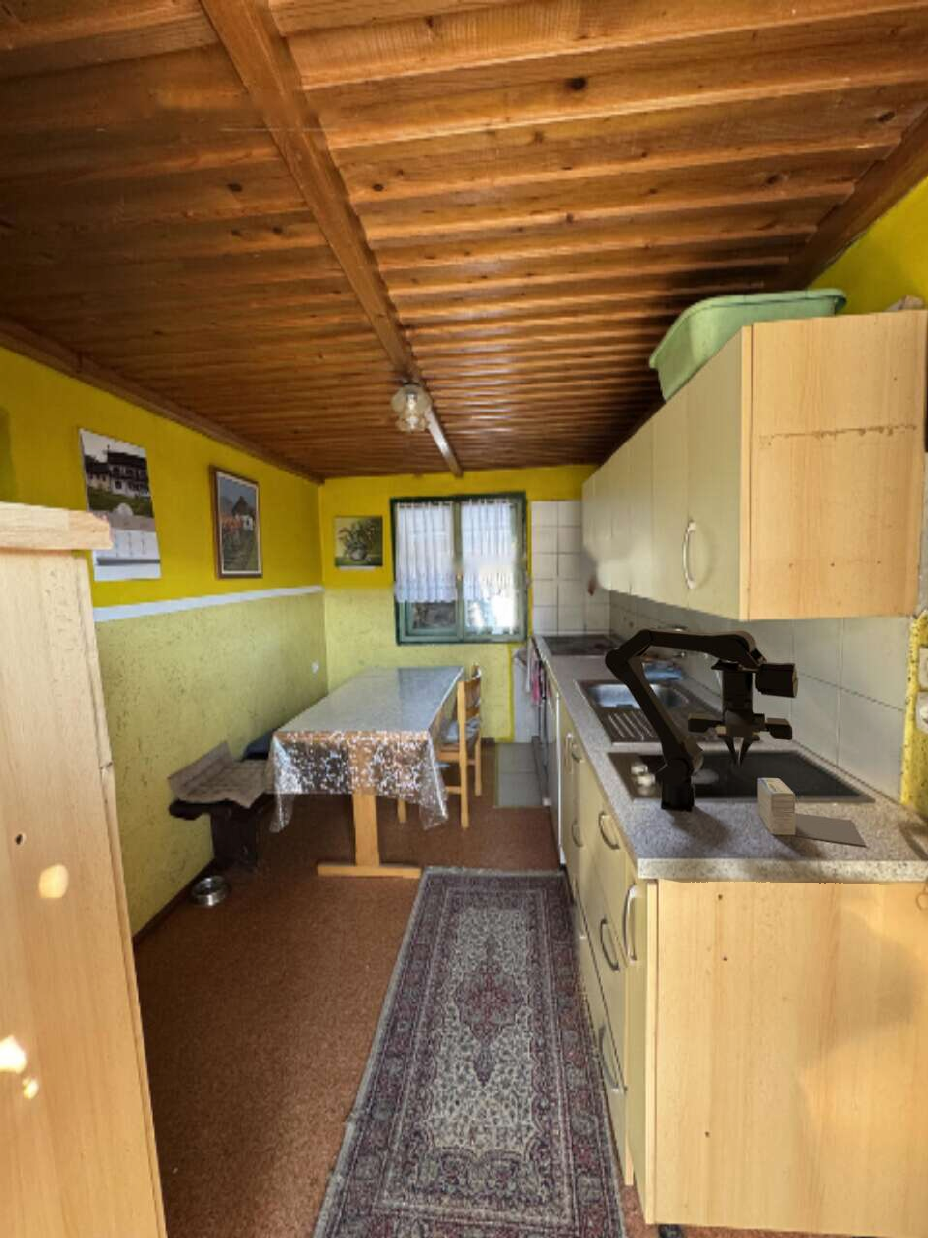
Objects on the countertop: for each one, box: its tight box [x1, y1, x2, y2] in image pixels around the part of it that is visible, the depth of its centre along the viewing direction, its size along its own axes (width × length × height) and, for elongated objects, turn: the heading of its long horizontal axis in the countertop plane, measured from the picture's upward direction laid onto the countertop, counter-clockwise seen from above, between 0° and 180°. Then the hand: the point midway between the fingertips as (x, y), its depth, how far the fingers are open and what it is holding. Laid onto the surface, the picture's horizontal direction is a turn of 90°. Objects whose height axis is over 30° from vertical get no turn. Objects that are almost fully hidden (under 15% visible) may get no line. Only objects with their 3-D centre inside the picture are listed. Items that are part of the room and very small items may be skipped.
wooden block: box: [757, 777, 796, 836], centre depth 103 cm, size 8×4×9 cm, turn 168°
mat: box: [795, 812, 867, 848], centre depth 101 cm, size 11×10×1 cm
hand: (737, 765), depth 105 cm, fingers closed
